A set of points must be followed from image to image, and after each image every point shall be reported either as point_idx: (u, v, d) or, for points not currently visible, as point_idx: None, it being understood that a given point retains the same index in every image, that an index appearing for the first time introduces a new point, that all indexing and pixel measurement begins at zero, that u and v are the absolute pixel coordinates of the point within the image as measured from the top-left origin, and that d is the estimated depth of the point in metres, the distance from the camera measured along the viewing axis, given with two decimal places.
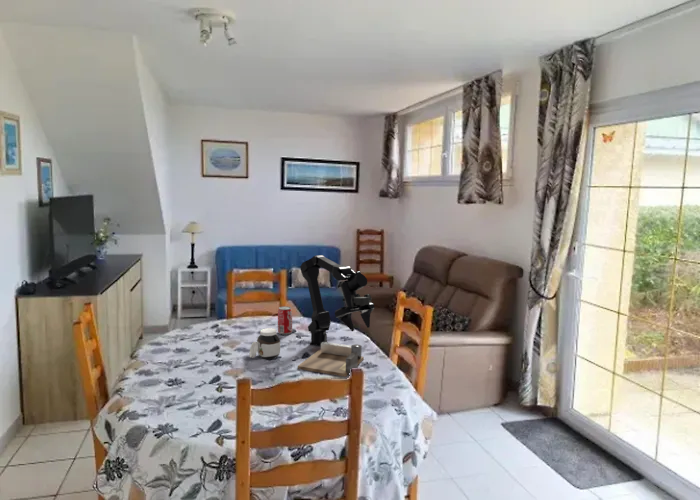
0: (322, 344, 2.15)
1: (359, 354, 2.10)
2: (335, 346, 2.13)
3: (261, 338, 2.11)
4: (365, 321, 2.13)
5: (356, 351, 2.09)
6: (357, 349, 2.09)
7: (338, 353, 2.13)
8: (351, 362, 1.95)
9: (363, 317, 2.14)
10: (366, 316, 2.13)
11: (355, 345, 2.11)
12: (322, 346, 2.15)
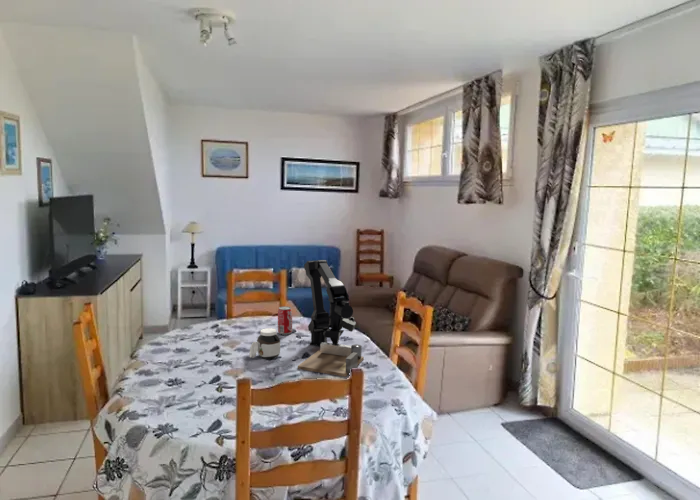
0: (322, 344, 2.15)
1: (359, 354, 2.10)
2: (335, 346, 2.13)
3: (261, 338, 2.11)
4: None
5: (356, 351, 2.09)
6: (357, 349, 2.09)
7: (338, 353, 2.13)
8: (351, 362, 1.95)
9: None
10: None
11: (355, 345, 2.11)
12: (322, 346, 2.15)
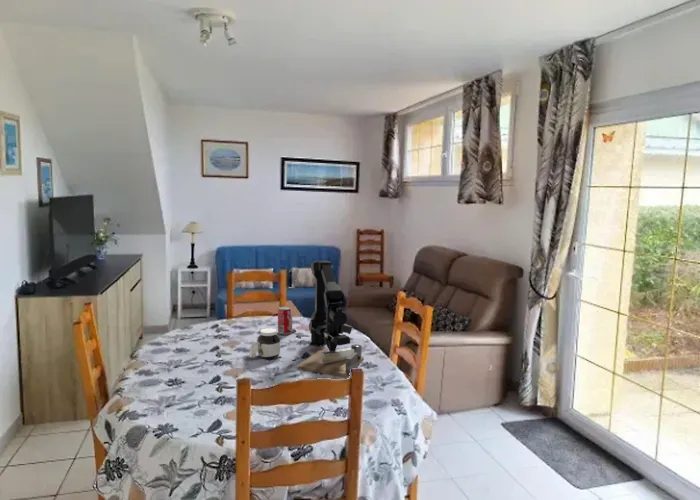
0: (326, 355, 2.02)
1: None
2: (339, 352, 2.05)
3: (261, 338, 2.11)
4: None
5: (360, 350, 2.10)
6: (361, 348, 2.10)
7: (342, 358, 2.06)
8: (351, 362, 1.95)
9: None
10: None
11: (355, 346, 2.11)
12: (326, 357, 2.02)
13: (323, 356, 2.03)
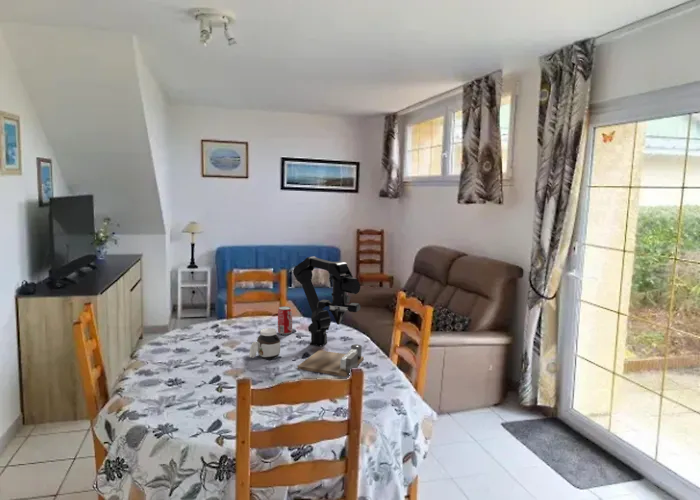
0: None
1: None
2: None
3: (261, 338, 2.11)
4: (337, 318, 2.22)
5: (361, 349, 2.11)
6: None
7: None
8: (351, 362, 1.95)
9: (336, 314, 2.21)
10: (338, 313, 2.23)
11: (355, 346, 2.10)
12: None
13: (344, 362, 1.96)
